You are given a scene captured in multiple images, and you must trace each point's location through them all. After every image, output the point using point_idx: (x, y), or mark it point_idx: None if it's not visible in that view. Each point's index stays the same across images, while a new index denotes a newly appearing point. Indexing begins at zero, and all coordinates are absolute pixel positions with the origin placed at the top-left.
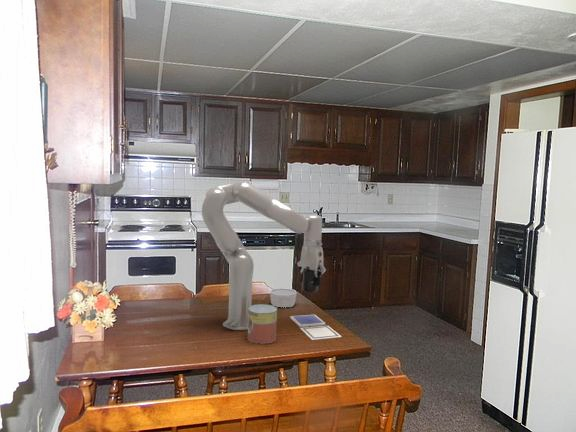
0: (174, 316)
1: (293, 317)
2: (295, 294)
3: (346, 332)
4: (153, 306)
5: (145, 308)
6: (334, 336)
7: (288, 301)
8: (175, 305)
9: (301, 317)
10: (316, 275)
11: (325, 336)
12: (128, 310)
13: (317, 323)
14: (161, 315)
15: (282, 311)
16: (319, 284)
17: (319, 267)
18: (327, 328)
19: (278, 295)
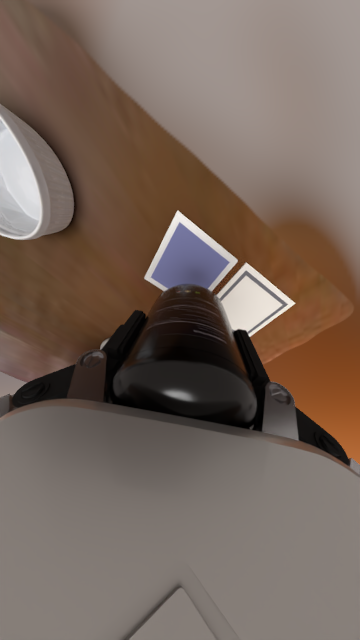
0: (56, 367)
1: (153, 279)
2: (27, 148)
3: (303, 269)
4: (8, 359)
5: (16, 366)
6: (278, 311)
7: (62, 206)
8: (6, 344)
9: (168, 269)
10: (256, 421)
11: (261, 322)
12: (21, 376)
13: (220, 276)
14: (48, 371)
15: (96, 247)
16: (245, 332)
17: (301, 493)
18: (251, 282)
19: (32, 237)
